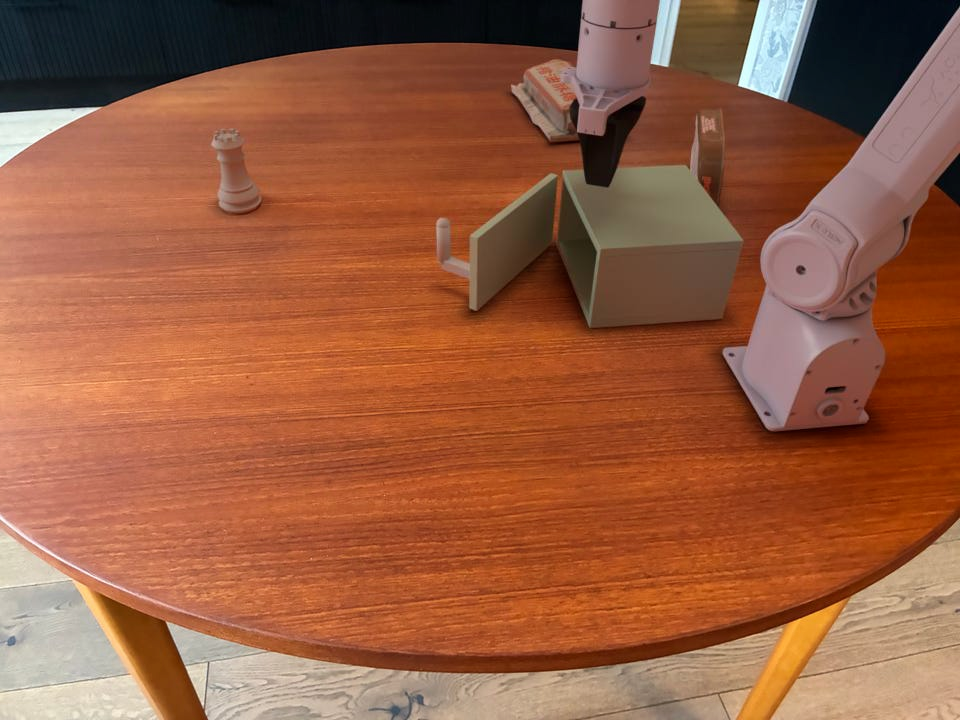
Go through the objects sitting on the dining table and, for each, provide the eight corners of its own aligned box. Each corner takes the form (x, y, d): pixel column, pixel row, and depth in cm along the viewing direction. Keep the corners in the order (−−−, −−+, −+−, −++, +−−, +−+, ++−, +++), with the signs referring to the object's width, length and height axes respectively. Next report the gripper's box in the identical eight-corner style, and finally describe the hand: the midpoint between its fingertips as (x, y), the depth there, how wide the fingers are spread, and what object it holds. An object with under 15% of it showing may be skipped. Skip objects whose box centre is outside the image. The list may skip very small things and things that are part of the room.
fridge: (589, 328, 65) (600, 248, 60) (555, 244, 76) (562, 170, 71) (722, 319, 67) (744, 240, 62) (671, 237, 77) (685, 164, 72)
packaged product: (629, 101, 93) (552, 107, 91) (624, 138, 96) (549, 145, 94) (579, 53, 106) (511, 57, 104) (576, 87, 109) (509, 92, 107)
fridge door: (426, 291, 69) (424, 219, 64) (506, 228, 78) (508, 160, 73) (476, 311, 67) (477, 238, 62) (552, 243, 76) (558, 175, 71)
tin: (715, 230, 79) (733, 154, 73) (684, 227, 79) (700, 150, 74) (710, 167, 90) (726, 97, 85) (683, 164, 90) (697, 94, 85)
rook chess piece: (210, 208, 81) (193, 136, 75) (239, 191, 84) (224, 121, 78) (242, 219, 79) (227, 146, 74) (271, 201, 82) (258, 129, 77)
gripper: (587, -11, 64) (573, 143, 72) (543, 40, 53) (532, 213, 62) (672, -3, 62) (646, 154, 71) (643, 51, 51) (617, 228, 60)
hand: (598, 182), depth 66 cm, fingers closed
